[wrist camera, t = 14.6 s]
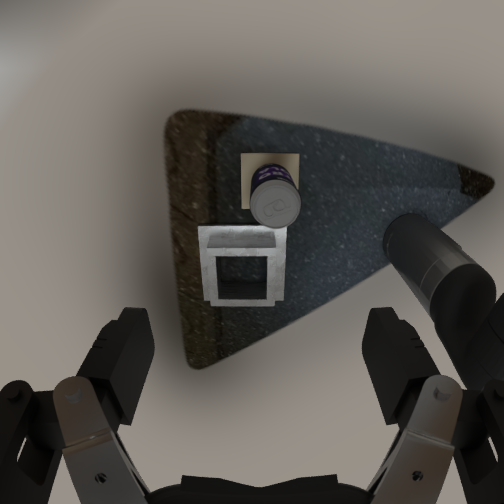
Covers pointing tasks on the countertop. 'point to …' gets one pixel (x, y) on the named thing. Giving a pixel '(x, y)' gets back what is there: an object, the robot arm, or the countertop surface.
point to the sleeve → (242, 244)
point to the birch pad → (256, 160)
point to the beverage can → (274, 197)
